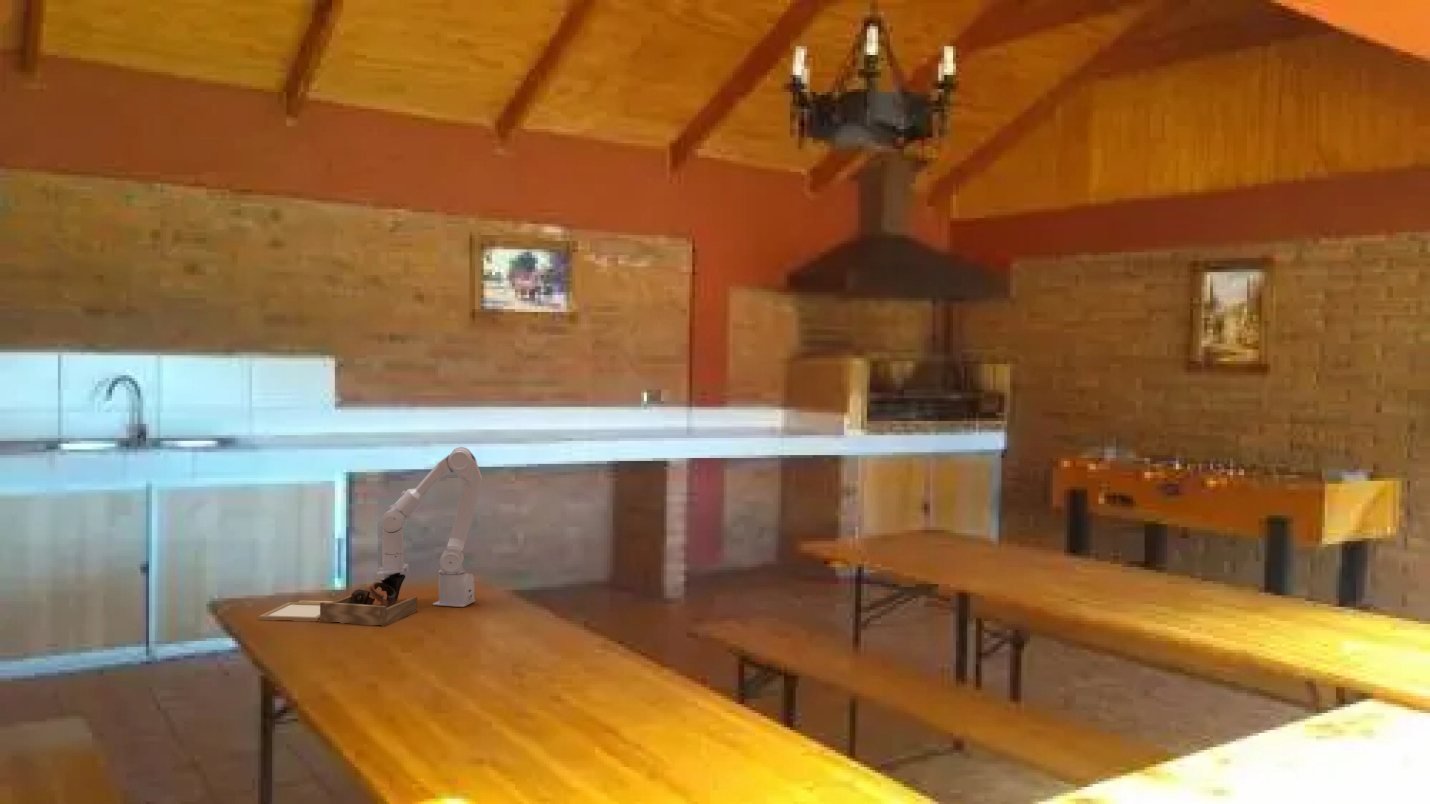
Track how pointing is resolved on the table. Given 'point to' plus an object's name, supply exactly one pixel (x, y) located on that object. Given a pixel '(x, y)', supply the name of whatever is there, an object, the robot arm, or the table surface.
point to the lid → (295, 611)
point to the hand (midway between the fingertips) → (392, 601)
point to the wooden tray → (365, 612)
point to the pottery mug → (374, 595)
